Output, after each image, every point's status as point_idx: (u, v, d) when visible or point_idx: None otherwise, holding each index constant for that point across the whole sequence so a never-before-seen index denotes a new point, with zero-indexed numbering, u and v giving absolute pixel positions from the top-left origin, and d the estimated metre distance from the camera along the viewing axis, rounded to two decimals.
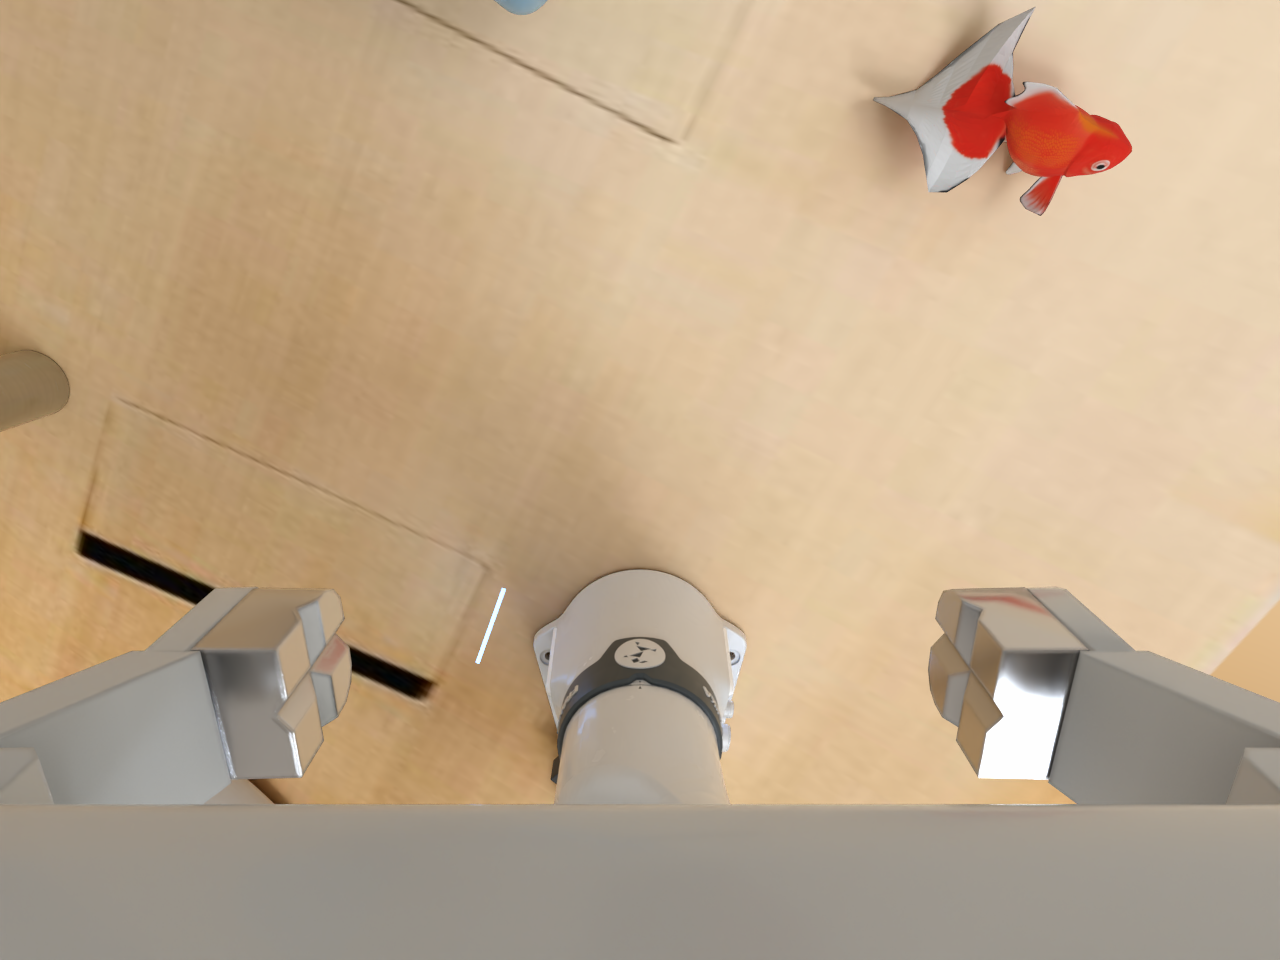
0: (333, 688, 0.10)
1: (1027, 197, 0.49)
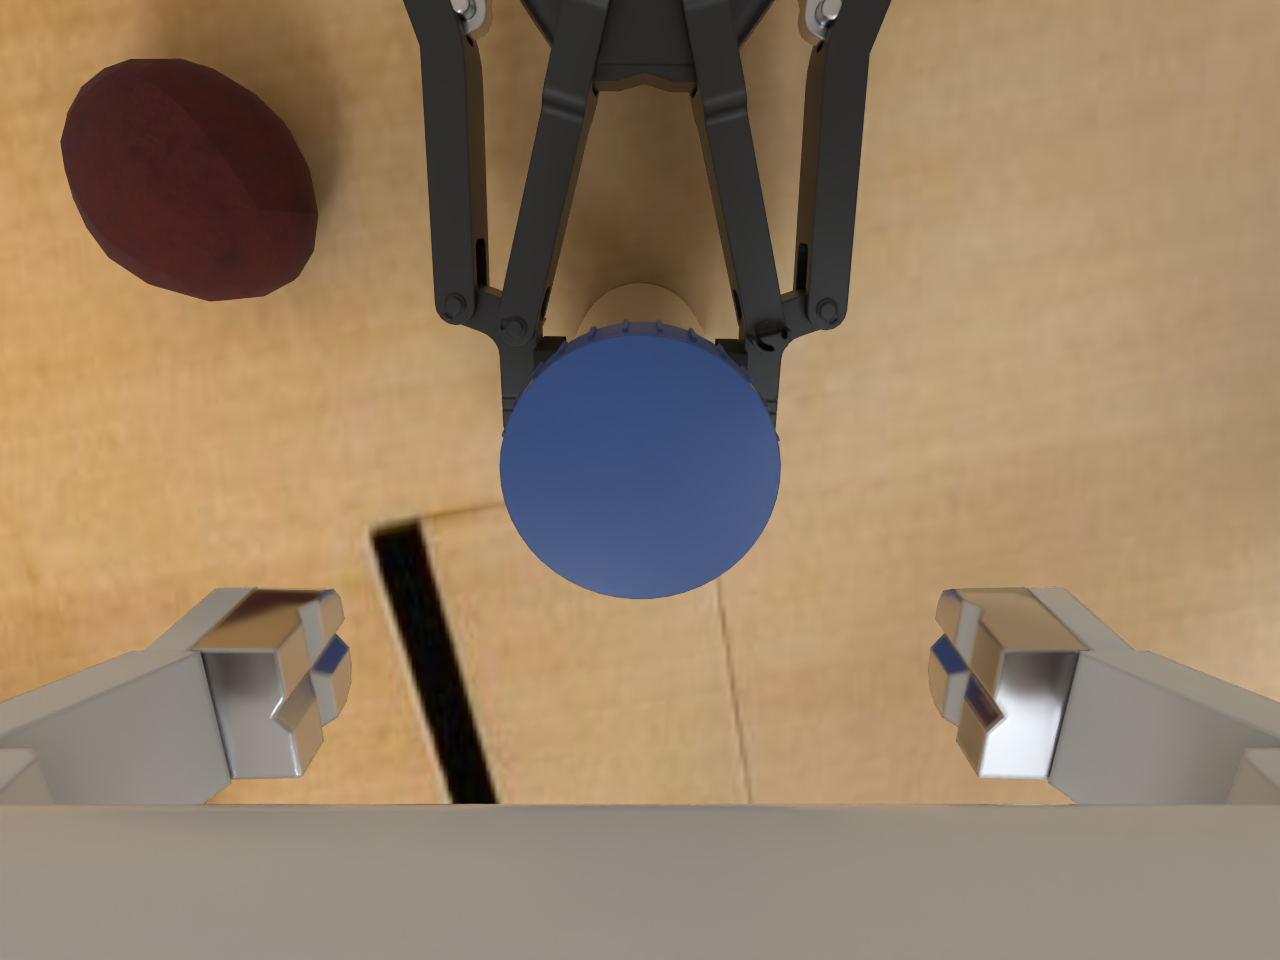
0: (333, 688, 0.10)
1: None
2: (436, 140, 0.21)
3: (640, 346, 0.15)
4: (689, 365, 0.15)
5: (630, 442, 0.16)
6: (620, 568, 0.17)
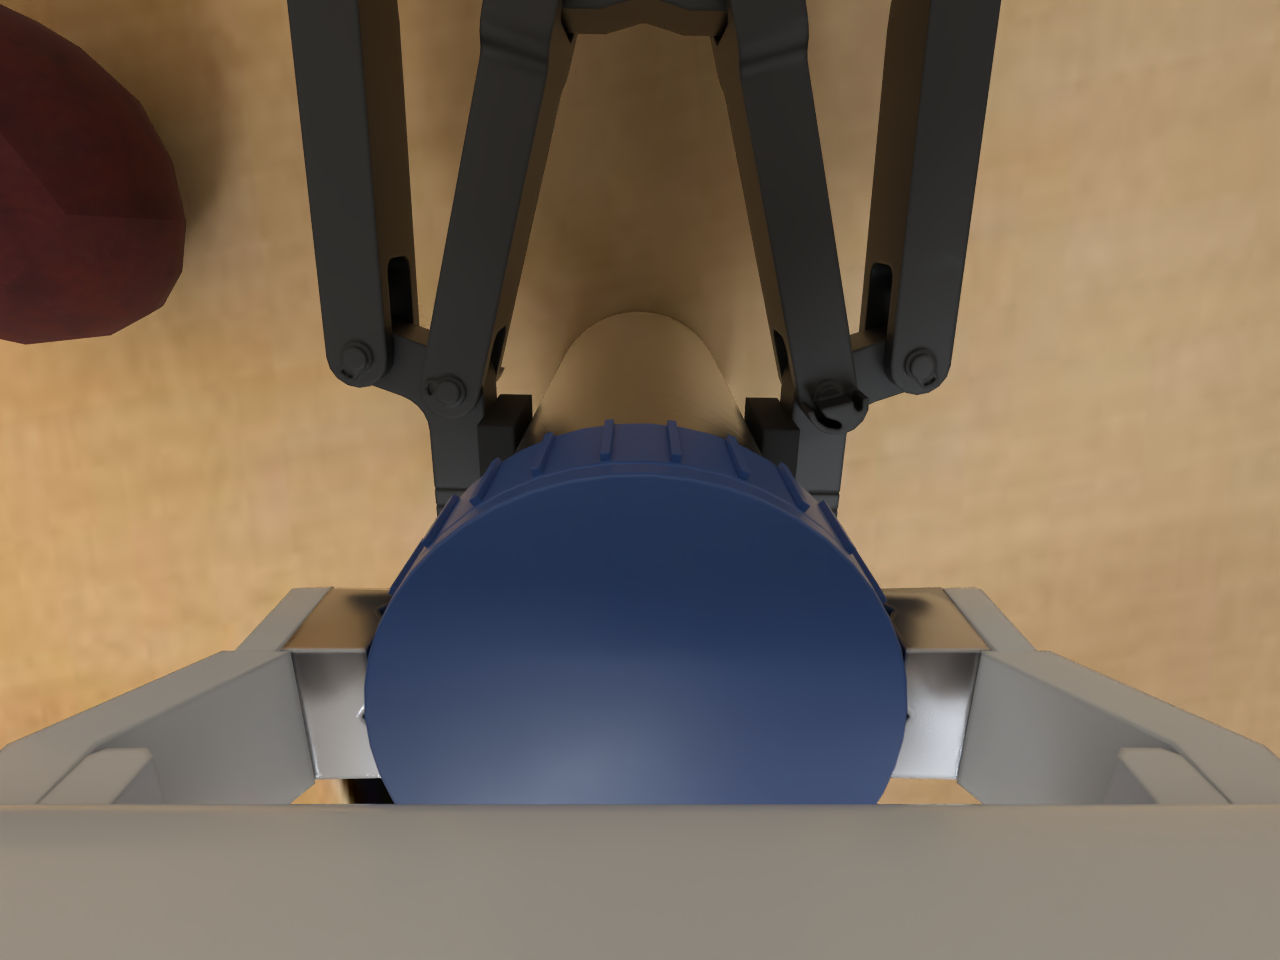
0: None
1: None
2: (316, 105, 0.13)
3: (635, 497, 0.07)
4: (735, 532, 0.07)
5: (616, 671, 0.08)
6: None
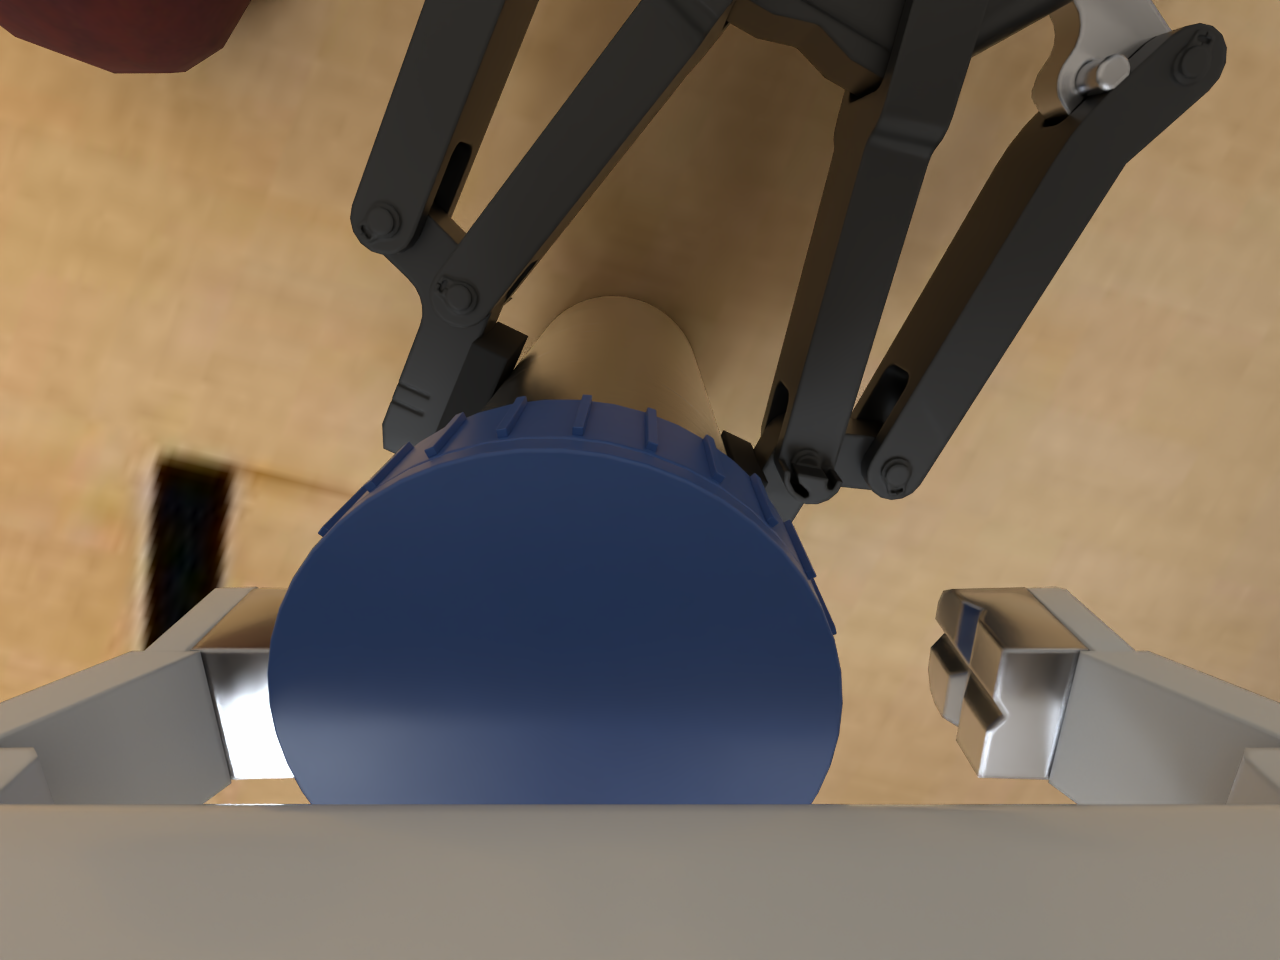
0: None
1: None
2: None
3: (345, 549, 0.07)
4: (444, 509, 0.07)
5: (488, 689, 0.08)
6: None
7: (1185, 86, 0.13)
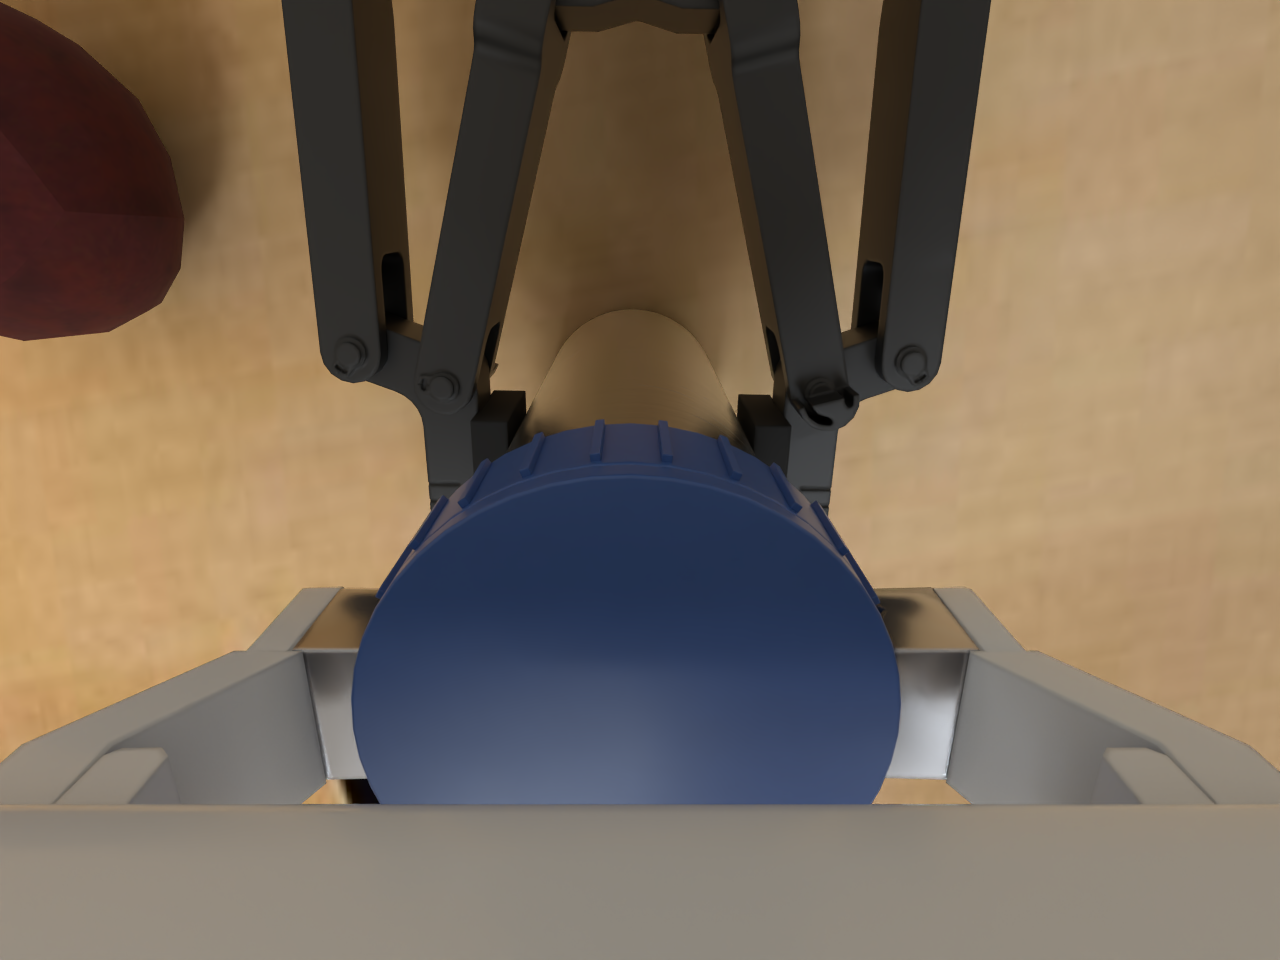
0: None
1: None
2: (310, 100, 0.13)
3: (379, 657, 0.08)
4: (441, 589, 0.07)
5: (556, 727, 0.08)
6: None
7: None
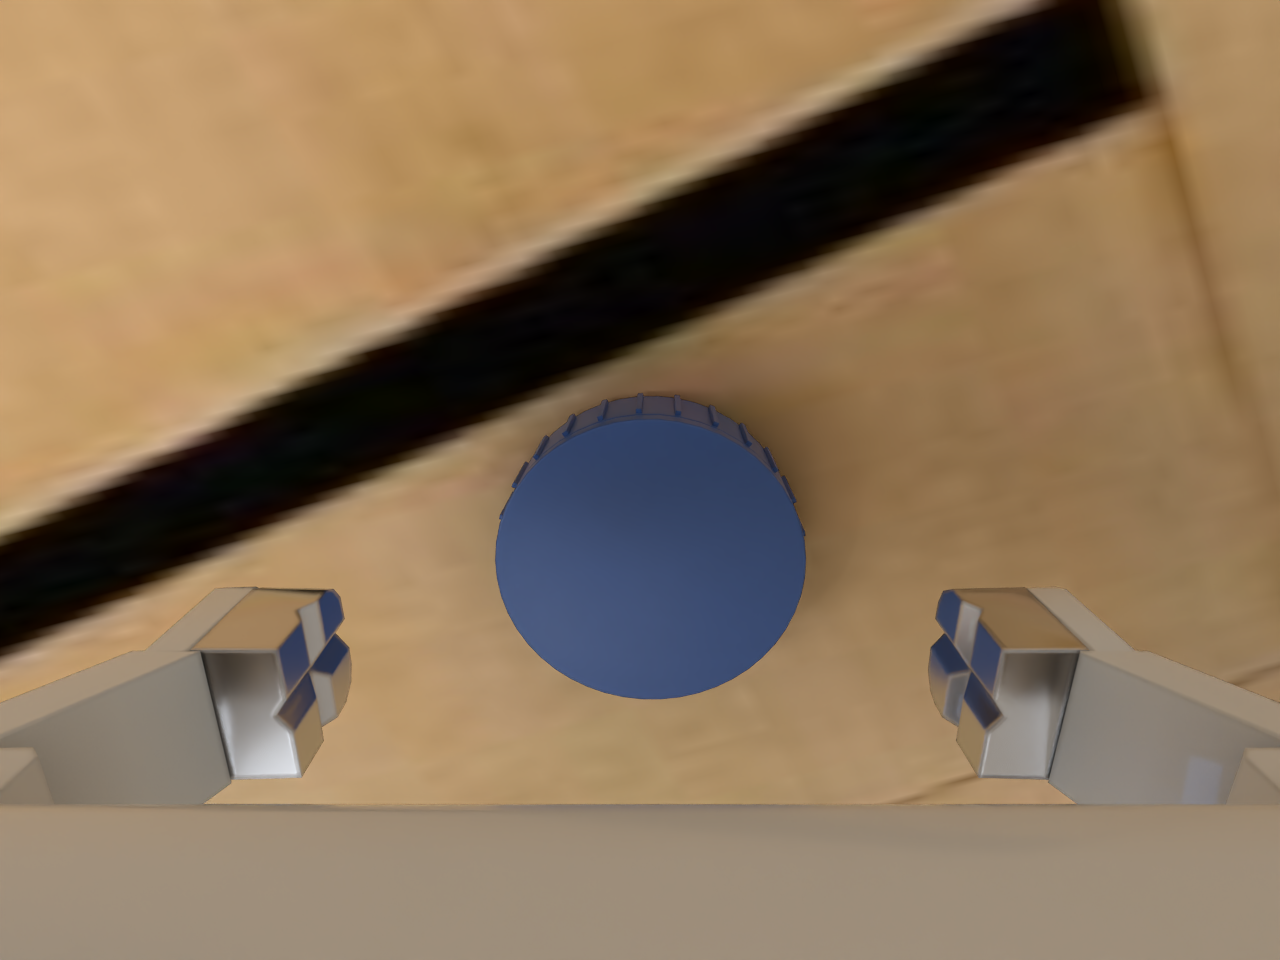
0: (333, 688, 0.10)
1: None
2: None
3: (514, 517, 0.14)
4: (552, 479, 0.14)
5: (609, 564, 0.14)
6: (743, 627, 0.15)
7: None
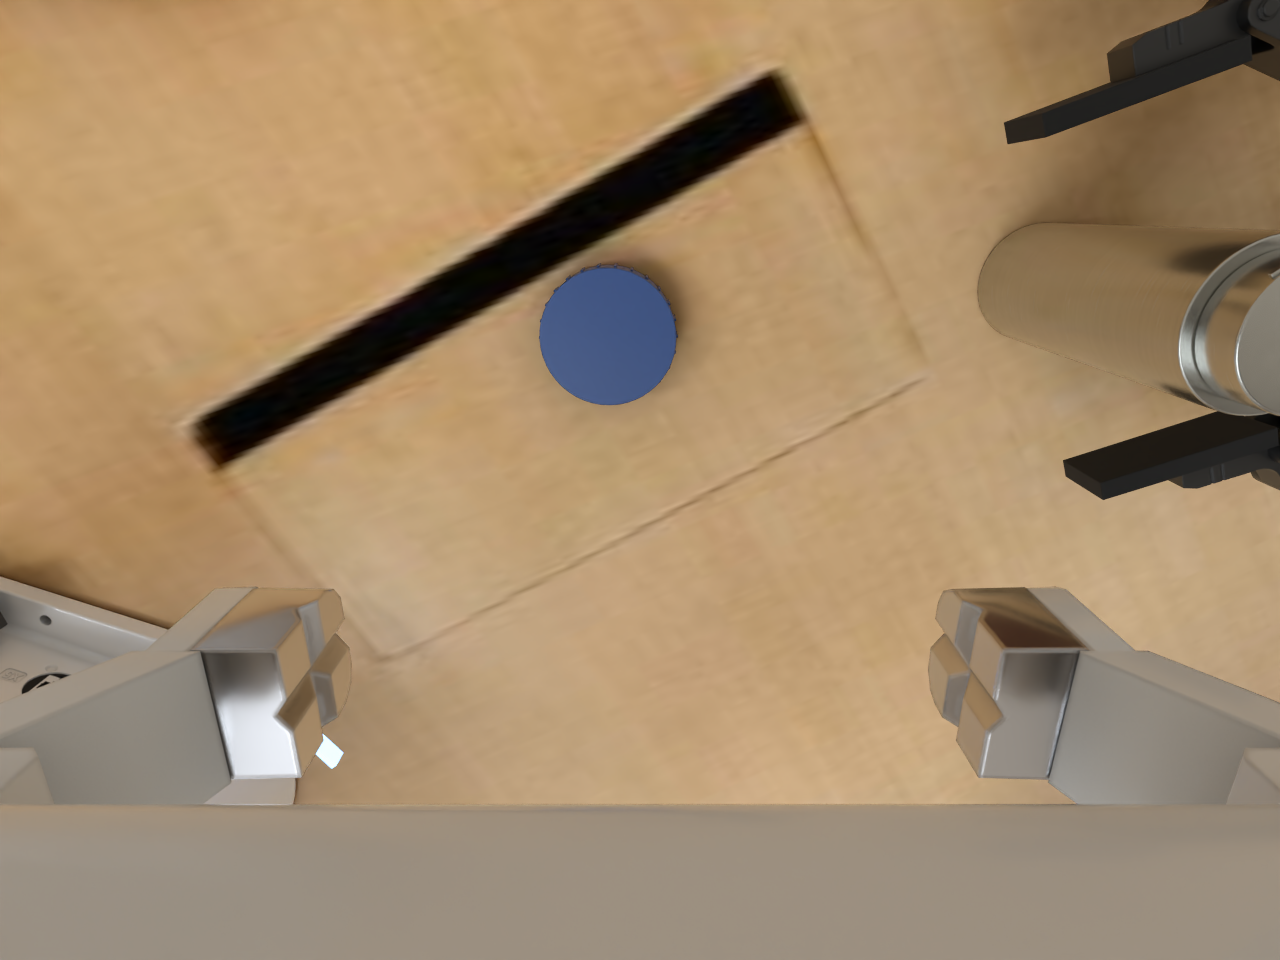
0: (333, 688, 0.10)
1: None
2: None
3: (547, 317, 0.32)
4: (562, 298, 0.32)
5: (590, 337, 0.32)
6: (651, 364, 0.33)
7: None
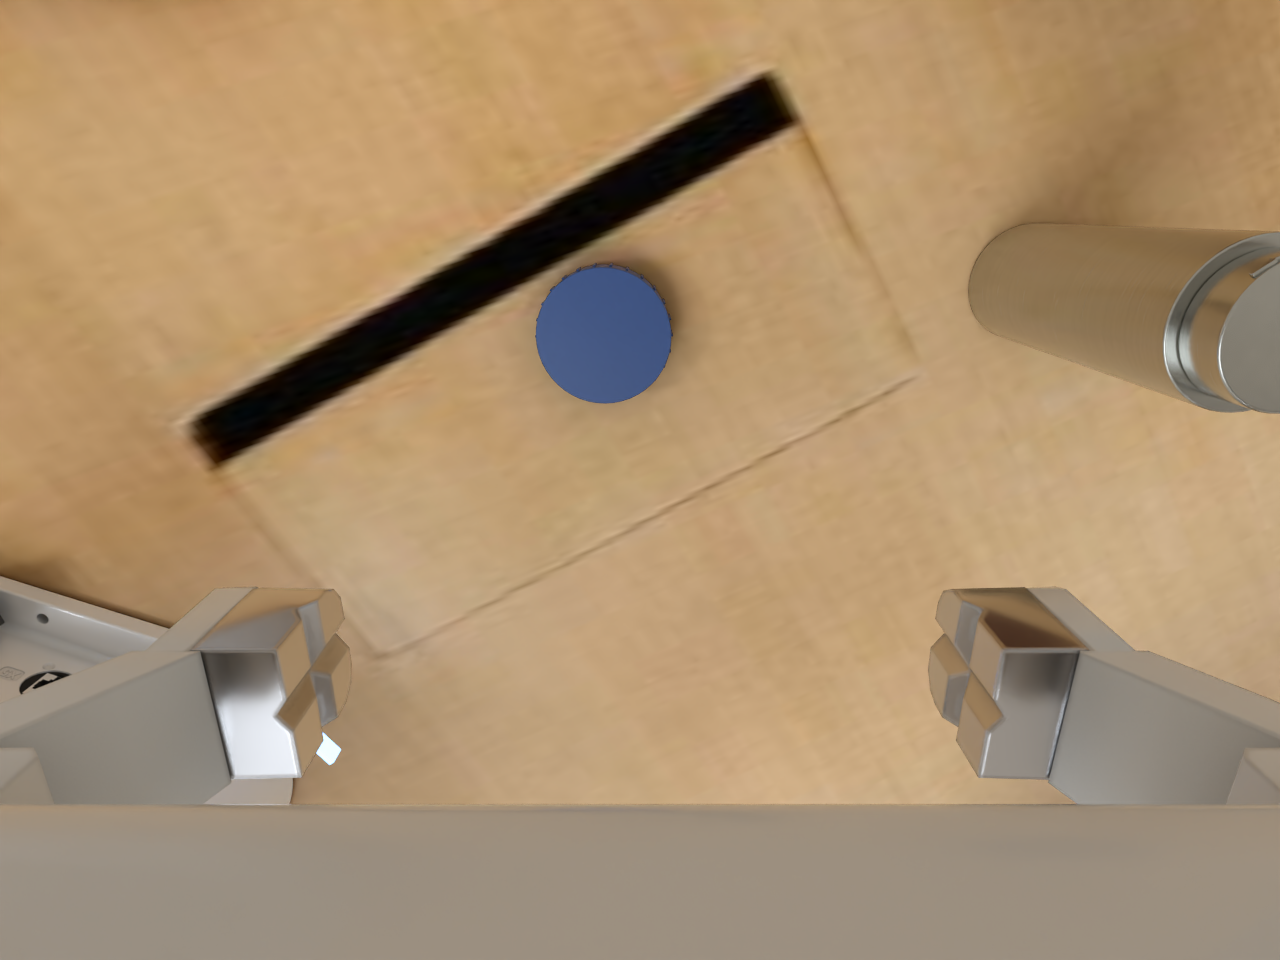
0: (333, 688, 0.10)
1: None
2: None
3: (543, 316, 0.32)
4: (558, 297, 0.32)
5: (586, 336, 0.33)
6: (647, 363, 0.33)
7: None
